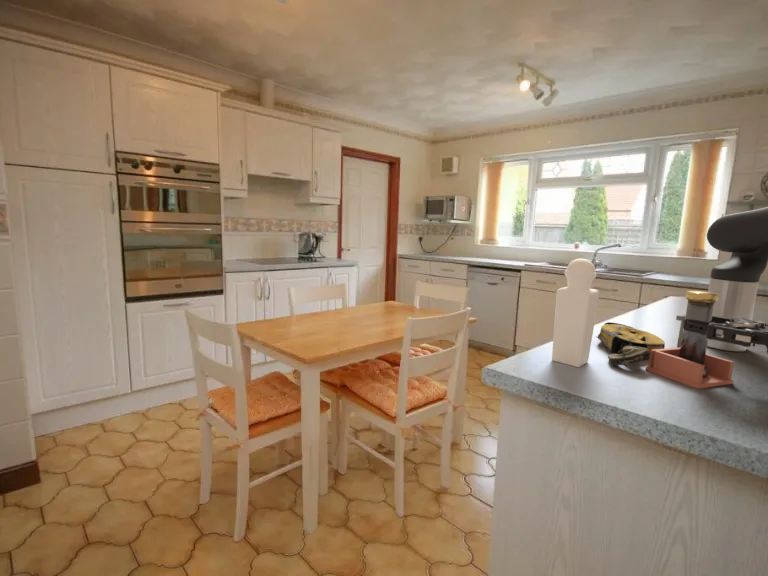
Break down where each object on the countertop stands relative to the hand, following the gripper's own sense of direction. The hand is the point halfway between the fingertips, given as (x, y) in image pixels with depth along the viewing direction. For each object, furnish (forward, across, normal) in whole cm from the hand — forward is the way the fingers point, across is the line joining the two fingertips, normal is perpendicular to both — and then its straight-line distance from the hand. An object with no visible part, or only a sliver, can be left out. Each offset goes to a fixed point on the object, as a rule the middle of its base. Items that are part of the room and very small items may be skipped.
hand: (695, 322), depth 77 cm
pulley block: (+14, -4, +11) cm, 18 cm away
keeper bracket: (0, 0, +11) cm, 11 cm away
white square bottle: (+16, +14, +11) cm, 24 cm away
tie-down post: (0, 0, +10) cm, 10 cm away
